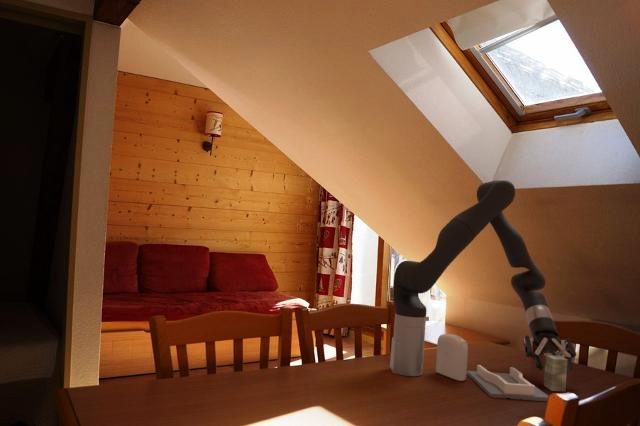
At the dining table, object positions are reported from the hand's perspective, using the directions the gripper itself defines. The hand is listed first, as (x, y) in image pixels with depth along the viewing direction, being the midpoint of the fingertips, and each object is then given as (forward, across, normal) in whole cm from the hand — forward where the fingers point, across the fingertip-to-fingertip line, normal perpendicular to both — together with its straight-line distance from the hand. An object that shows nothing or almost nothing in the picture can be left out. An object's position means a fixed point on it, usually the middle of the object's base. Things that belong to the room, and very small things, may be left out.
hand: (555, 370), depth 153 cm
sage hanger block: (+4, 0, +4) cm, 5 cm away
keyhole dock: (+5, -15, +2) cm, 16 cm away
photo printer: (0, -29, +8) cm, 30 cm away
